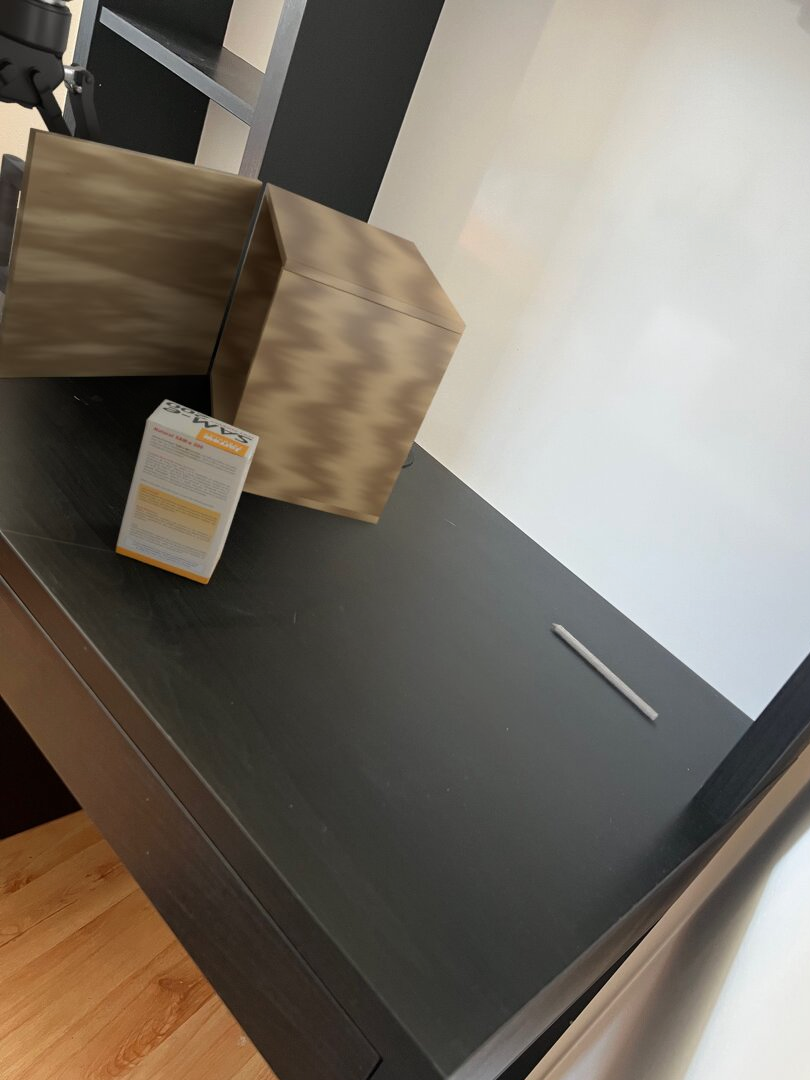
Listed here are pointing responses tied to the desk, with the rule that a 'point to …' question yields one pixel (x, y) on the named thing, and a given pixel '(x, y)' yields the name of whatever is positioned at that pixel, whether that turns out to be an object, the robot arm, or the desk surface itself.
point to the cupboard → (330, 355)
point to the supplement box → (184, 491)
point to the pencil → (606, 672)
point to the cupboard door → (115, 259)
